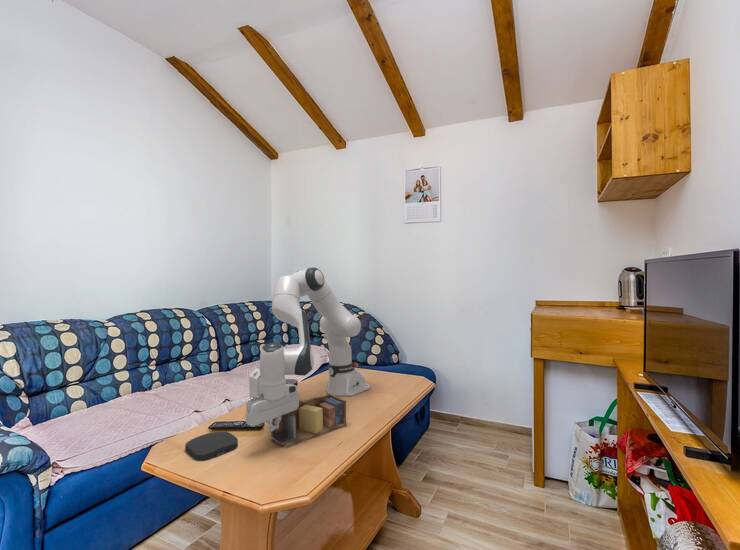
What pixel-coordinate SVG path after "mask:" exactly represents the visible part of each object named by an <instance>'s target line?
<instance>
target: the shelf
mask: <svg viewBox="0 0 740 550" xmlns="http://www.w3.org/2000/svg"><path fill="white" fill-rule="evenodd" d="M304 405H309V406H314V407H319V408H322V409H323V429H322V430H321V431H319V432H318V433H313V432H308V431H304V430H300V429H299V408H300V407H302V406H304ZM289 414H291V415H293V416H294V417H295V421H296V440H293V441H290V442H288V443H285V444H282V445H281V446H283V447H284V448H286V449H287V448H289V447H293V446H295V445H298V444H299V443H303V442H305V441H309V440H311V439H314V438H316V437H319V436H322V435H326V434H328V433H330V432H333V431H336V430H339V429H342V428H345V427H347V401H346V399H343V398H340V396H335V395H332V394H328V393H326V394H323V395H320V396H317V397H313V398H312V397H311V398H308V399H305V400H302V401H299V407H298V409H297V410H295V411H292V412H290V413H289ZM275 419H276V418H274V419H273V422H271V423H272V424H274V422H275ZM282 431H283V415H282V416H281V421H280V423H279V429H277V430H274V431H272V432H271V431H270V432H271V435H273V434H276V433H279V432H282Z"/></svg>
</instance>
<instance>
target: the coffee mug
mask: <svg viewBox="0 0 740 550" xmlns="http://www.w3.org/2000/svg"><path fill="white" fill-rule="evenodd" d="M285 379H286V383H290V384H294V385H296V386H298V384H299V383H298V382H299V380H298V379H296V378H285ZM296 392H297V393H298V390H297V391H296Z"/></svg>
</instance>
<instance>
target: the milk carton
mask: <svg viewBox="0 0 740 550" xmlns="http://www.w3.org/2000/svg"><path fill="white" fill-rule="evenodd" d="M259 366H260V365H255V368H254V369H253V371H251V372H250V374H249V375H248V381H249V382H248V386H249V399H250V398H252V397H255V396H258V395H260V380H261V374H260V368H259Z"/></svg>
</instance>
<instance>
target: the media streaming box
mask: <svg viewBox="0 0 740 550" xmlns="http://www.w3.org/2000/svg"><path fill="white" fill-rule="evenodd" d="M238 446H239V441H238V438H237V437H236V436H235V435H234V434H232V433H231V432H228V431H213V432H209V433H205V434H202V435H200V436H199V435H198V436H196V437H194V438H192V439H190V440H188V441H187V442H186V443H185V445H184V448H185V452H186V454H187V455H188V456H190V457H191V458H193V459H194V460H196V461H197V462H198V461H200V462H202V461H203V462H204V461H208V460H211V459H214V458H216V457H220V456H222V455H224V454H227V453H229V452H232V451H235V450H236V449H237V448H238Z"/></svg>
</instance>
